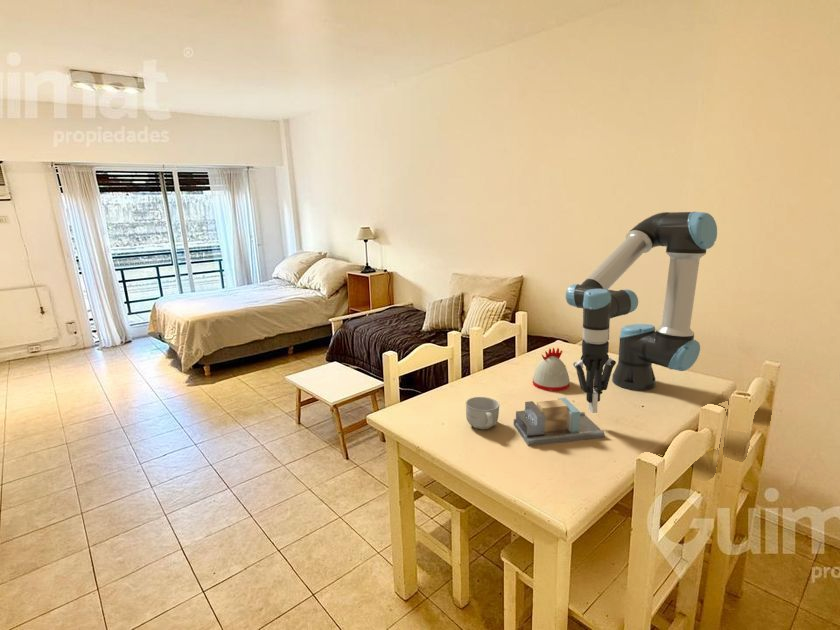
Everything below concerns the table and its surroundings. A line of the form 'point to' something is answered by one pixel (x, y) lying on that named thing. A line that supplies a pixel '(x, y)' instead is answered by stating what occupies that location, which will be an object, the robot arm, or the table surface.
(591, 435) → the vise bed
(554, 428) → the oak block
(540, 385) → the white and red dome
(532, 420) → the fixed jaw
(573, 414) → the block
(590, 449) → the table surface
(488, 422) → the teacup
